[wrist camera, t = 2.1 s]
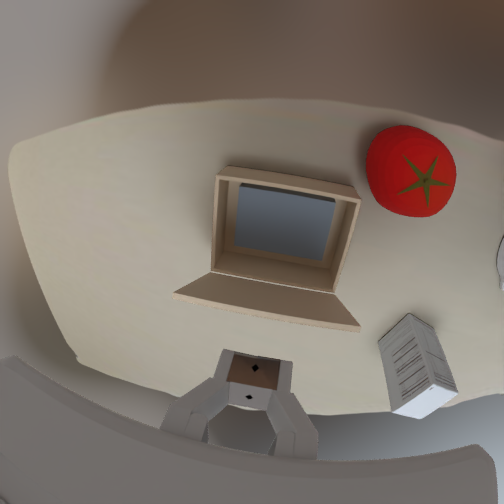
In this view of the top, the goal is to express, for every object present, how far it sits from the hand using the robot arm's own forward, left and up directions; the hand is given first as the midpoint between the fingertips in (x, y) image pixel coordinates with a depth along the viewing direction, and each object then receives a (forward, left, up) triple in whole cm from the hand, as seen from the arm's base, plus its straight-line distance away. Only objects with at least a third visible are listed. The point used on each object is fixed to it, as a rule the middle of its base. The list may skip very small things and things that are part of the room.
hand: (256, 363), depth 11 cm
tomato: (-15, -6, -31) cm, 35 cm away
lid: (0, +10, -18) cm, 21 cm away
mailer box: (0, +6, -31) cm, 31 cm away
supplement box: (-29, +25, -31) cm, 49 cm away
